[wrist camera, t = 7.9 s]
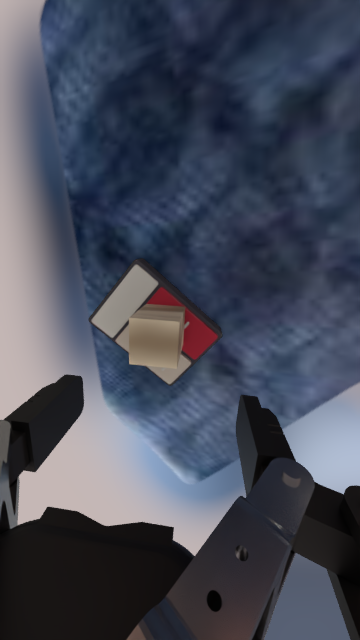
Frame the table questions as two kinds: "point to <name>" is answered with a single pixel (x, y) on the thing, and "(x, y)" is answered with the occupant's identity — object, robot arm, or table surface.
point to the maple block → (156, 335)
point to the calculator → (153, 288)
